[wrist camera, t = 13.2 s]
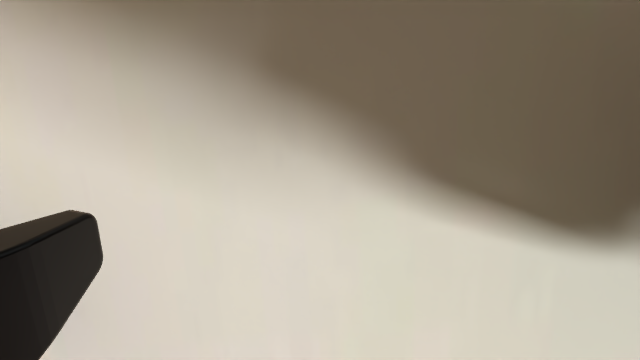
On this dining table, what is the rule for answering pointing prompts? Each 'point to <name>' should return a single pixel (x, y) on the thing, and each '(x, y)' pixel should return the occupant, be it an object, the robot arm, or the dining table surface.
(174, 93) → the dining table surface
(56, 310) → the robot arm
